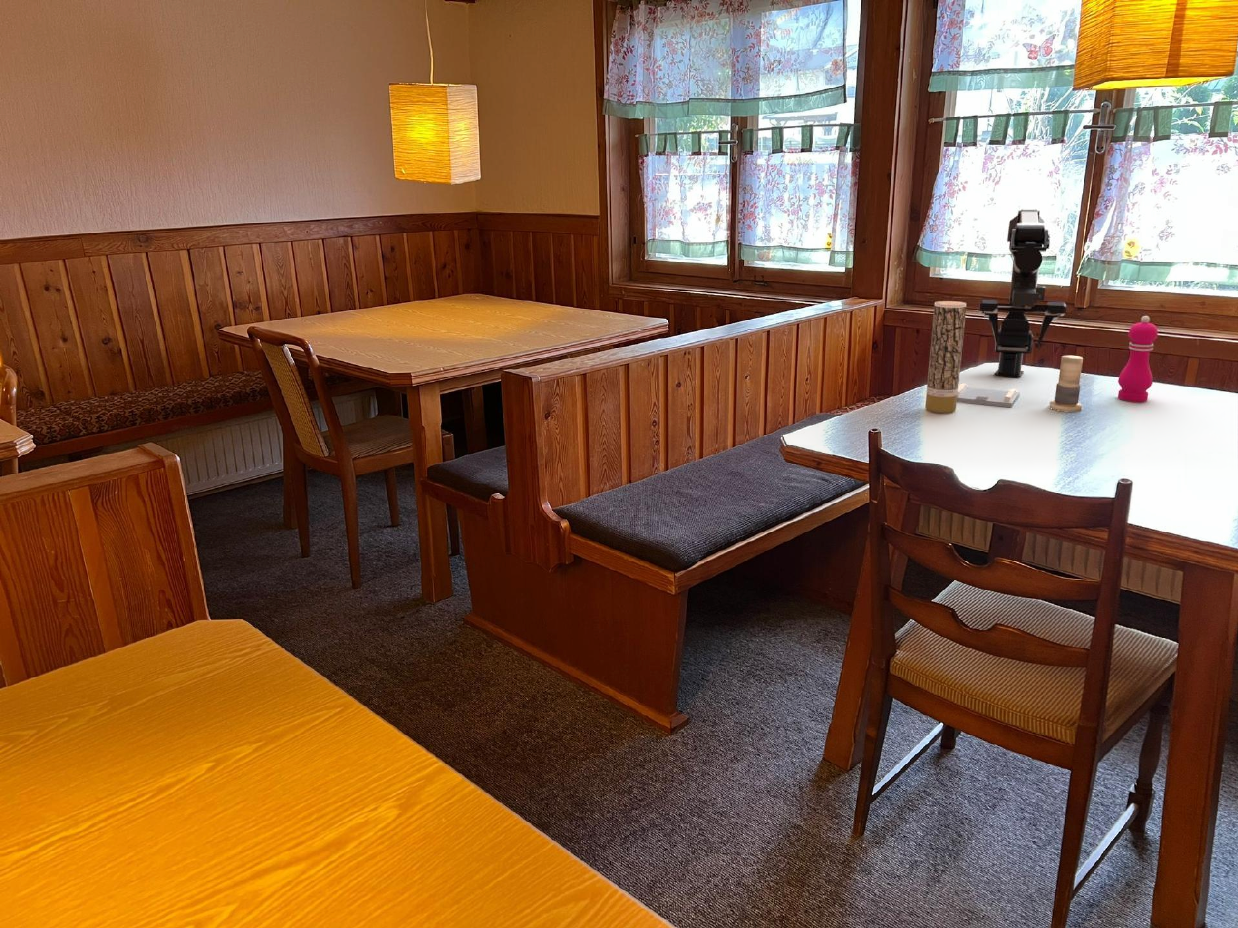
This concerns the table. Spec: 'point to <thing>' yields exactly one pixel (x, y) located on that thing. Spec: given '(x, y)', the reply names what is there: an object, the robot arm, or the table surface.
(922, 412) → the table surface
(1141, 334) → the pepper mill
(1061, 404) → the bobbin
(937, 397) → the wooden log
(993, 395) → the board
